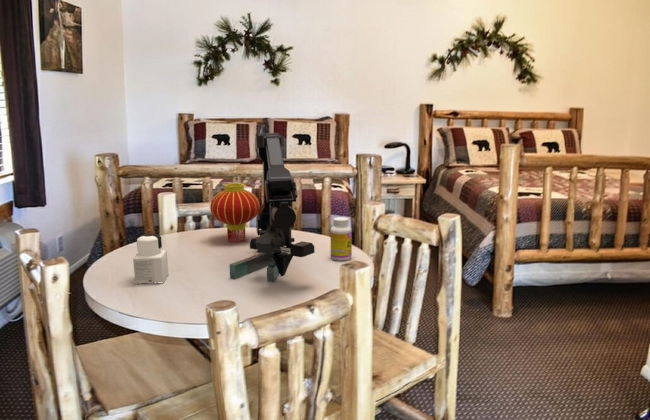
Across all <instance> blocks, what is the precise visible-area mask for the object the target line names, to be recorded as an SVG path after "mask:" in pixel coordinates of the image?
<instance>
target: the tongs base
mask: <svg viewBox="0 0 650 420" xmlns="http://www.w3.org/2000/svg"><path fill="white" fill-rule="evenodd" d="M272 260H273V258H272V257H271V256H270V255H268V254H266V253H264V252H261V253H260V252H259V253H258V254H254V255H251V256H249V257H247V258H244V259H240V260H238V261H235V262H232V263H229V266H228V267H229V279H232V280H233V279H234V280H237V279H239V278H241V277H245V276H248V275H250V274H252V273H254V272H257V271H259V270H262V269H264V268H267V267H268V266H269V264H270V263H271V262H272Z"/></svg>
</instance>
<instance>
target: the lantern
mask: <svg viewBox="0 0 650 420" xmlns="http://www.w3.org/2000/svg"><path fill="white" fill-rule="evenodd" d="M234 166H235V165H232V168H233V171H232V172H233V173H232V174H233V176H235V174H234V173H235V169H234ZM260 207H261V206H260V201H259V199H258V197H257V196H256V194H254V193H252V192H251V191H249V190H247V189H246V188H245V185H244V183H236V182H233V183H225V184H224V189H223V190H222V191H220V192H218V193H217V194H216V195H215V196H214V197H213V198H212V200H211V202H210V204H209V210H210V212H211V215H212V216H213V217H214V218H215V219H216V220H217V221H218V222H220V223H222V224H225V225H226V228H227V229H226V230H227V231H226V232H227V241H228V243H235V244H236V243H237V244H238V243H243V242H245V241H246V240H247V239H246V224H247V223H249V222H250V221H252V220H254V219H255V218H257V217H258V216H257V215H259V209H260Z"/></svg>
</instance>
